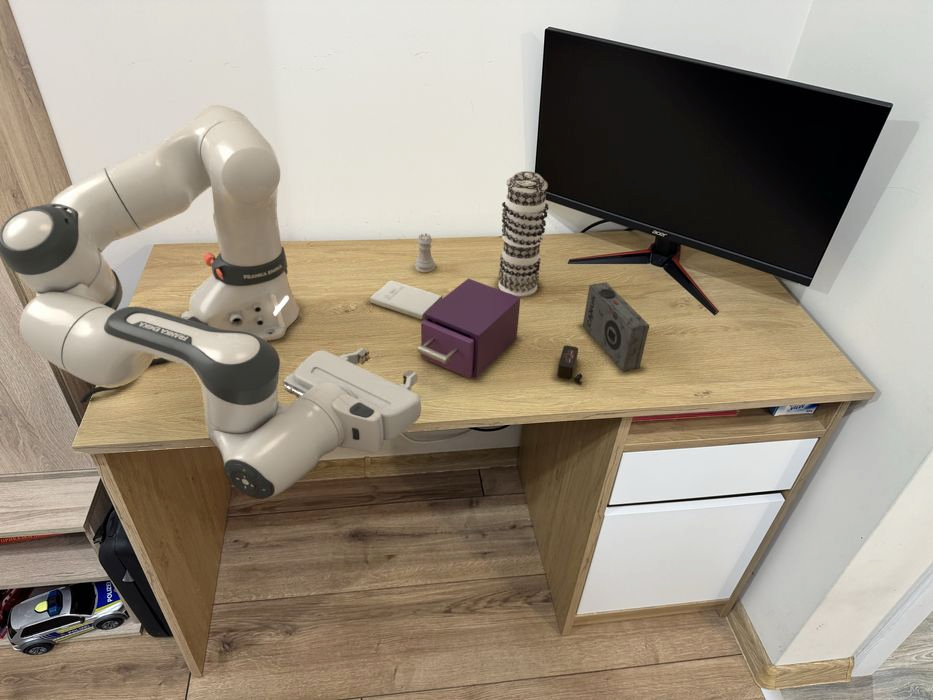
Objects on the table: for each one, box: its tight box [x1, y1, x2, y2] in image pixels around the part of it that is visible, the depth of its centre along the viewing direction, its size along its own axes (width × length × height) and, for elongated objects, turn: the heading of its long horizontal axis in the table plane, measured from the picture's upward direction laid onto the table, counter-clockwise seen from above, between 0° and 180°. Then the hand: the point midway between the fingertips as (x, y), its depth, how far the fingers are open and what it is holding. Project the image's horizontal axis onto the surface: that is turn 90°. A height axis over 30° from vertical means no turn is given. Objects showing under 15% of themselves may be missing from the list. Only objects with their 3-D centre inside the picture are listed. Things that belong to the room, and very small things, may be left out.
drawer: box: [416, 319, 475, 379], centre depth 127 cm, size 18×10×8 cm, turn 147°
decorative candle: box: [498, 171, 549, 298], centre depth 143 cm, size 9×9×25 cm
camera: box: [582, 281, 650, 372], centre depth 132 cm, size 16×4×10 cm, turn 21°
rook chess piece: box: [414, 233, 436, 274], centre depth 153 cm, size 4×4×8 cm
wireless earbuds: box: [556, 344, 583, 386], centre depth 127 cm, size 5×7×3 cm, turn 164°
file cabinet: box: [423, 277, 521, 379], centre depth 130 cm, size 15×12×10 cm
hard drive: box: [369, 279, 443, 321], centre depth 144 cm, size 2×8×12 cm
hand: (389, 363), depth 109 cm, fingers open, 8 cm apart
